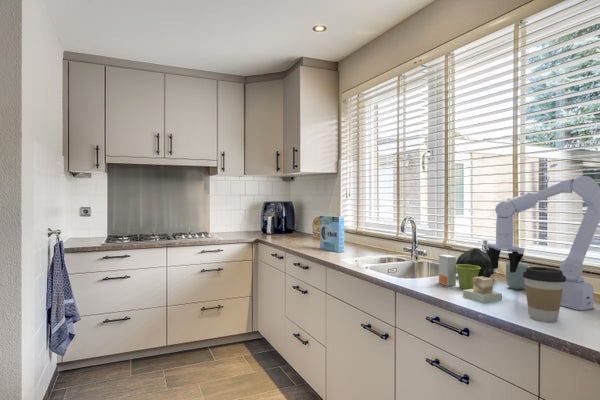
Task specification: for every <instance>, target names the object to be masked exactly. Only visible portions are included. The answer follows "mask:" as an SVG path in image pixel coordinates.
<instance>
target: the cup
mask: <svg viewBox="0 0 600 400" xmlns="http://www.w3.org/2000/svg"><path fill="white" fill-rule="evenodd" d="M528 267H529V265H528V263H525V262H519V264H518V267H517V270H516V272H514V273H511V272H510V261H507V262H506V263H505V280H506V285H507V286H508V287H509V289H512V290H519V291H520V290H524V289H526V288H525V279H524V277H523V272H525V271H526V268H528Z"/></svg>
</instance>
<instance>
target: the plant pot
mask: <svg viewBox="0 0 600 400" xmlns="http://www.w3.org/2000/svg"><path fill="white" fill-rule="evenodd" d="M480 269H481V267H479V266H474V265H466V264H459V265H456V272H457V277H458V278H457V279H458V287H459V288H461V289H463V290H467V289H473V277H478V273H479V270H480Z"/></svg>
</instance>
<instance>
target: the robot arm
mask: <svg viewBox="0 0 600 400" xmlns="http://www.w3.org/2000/svg"><path fill="white" fill-rule="evenodd" d="M573 192H574V193H575V194H577V195H578V196H579V197H581V199H582V200H583V201H584V203H585V205H586V206H587V208H586V210H585V213H584V215H583V218H582V221H581V222H580V225H579V228H578V231H577V233H576V235H575V237H574V240H573V242H572V245H571V248H570V250H569V253H568V255H567V257H566V258H565V259H564V260H563V261H562V262H561V264H560V265H559V269H558V270H561V271H562V273H563V275H564V276H565V277H566V281H565V282H564V286H563V292H562V298H561V303H560V307H565V308H569V309H573V310H575V311H585V310H591V309H595V308H596V307H595V306H594V286H593V284H591V283H590V282H587V281H585V278H583V277H582V276H583V271H584V265H583V263H584V260H585V257H586V255H587V253H588V250H589V247H591V246H590V245H591V243H592V241H593V238H594V235H595V234H596V233H595V232H596V231H597V228H598V226H599V223H600V186H599V184H598V183H597V182H596V181H595V180H594V179H593V178H592V177H591V176H588V175H581V176H578V177H576V178H570V179H567V180H563V181H560V182H558V183H556V184H553V185H551V186H549V187H546V188H544V189H541V190H539V191H537V192H534V193H532V192H529V191H527V192H523V191H522V192H520V193H519V195H517V196H515V197H512V198H511V197H509V198H508V197H507V199H506V201H500V202H499V203H497V205H496V206H495V208H494V211H495V214H496V221H495V243H488V242H487V243H486V244H485V246H486V247H485V248H486V252H485V253H486V254H487V255H488V256H489V258H490V261H491V264H492V268H493V270H497V269H499V260H500V255H501V252H508V253H507V255H508V259H509V262H510V272H511V273H514V272H516V270H517V267H518V264H519V263H521V262H520V261H521V260H522V258H523V257H524V254H525V248H524V247H519V246H514V215H515V214H519V213H521V212H524V211H527V210H530V209H532V208H536V206H537V203H538V202H541V201H542V200H546V199H548V198H551V197H553V196H558V195H560V194H573Z"/></svg>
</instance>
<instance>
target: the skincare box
mask: <svg viewBox="0 0 600 400" xmlns="http://www.w3.org/2000/svg"><path fill="white" fill-rule="evenodd" d="M438 256H439V257H438V259H439V260H438V283H440V284H441V285H445V286H447V287H451V286H456V284H457V268H456V261H457V256H455V255H449V254H439V255H438Z"/></svg>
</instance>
